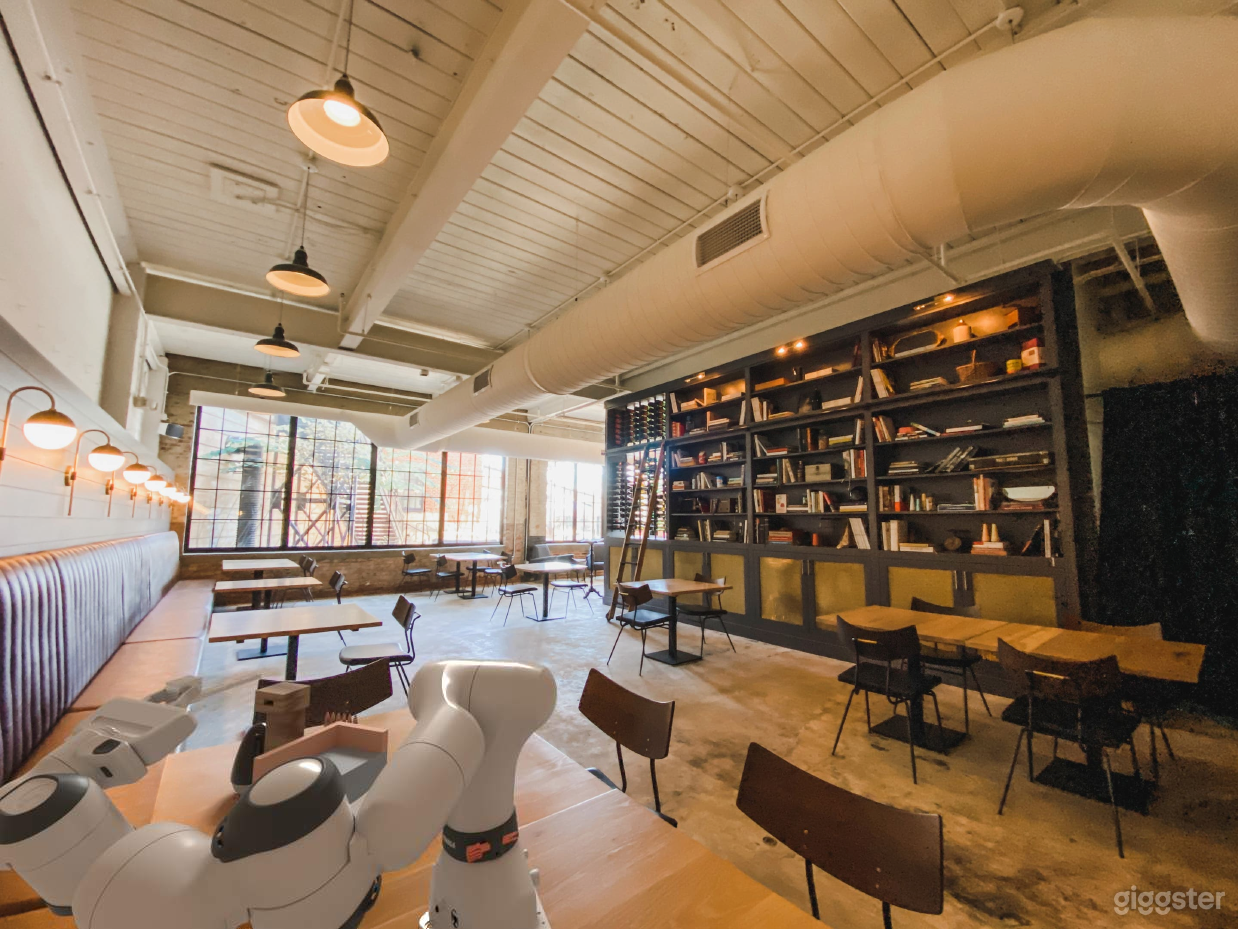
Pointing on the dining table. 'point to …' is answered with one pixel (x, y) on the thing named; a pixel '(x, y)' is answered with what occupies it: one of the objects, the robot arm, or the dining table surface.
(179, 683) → the aluminium bracket
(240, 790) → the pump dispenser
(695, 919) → the dining table surface
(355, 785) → the slate crate
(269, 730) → the walnut post
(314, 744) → the terracotta walls
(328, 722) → the ammunition clip
